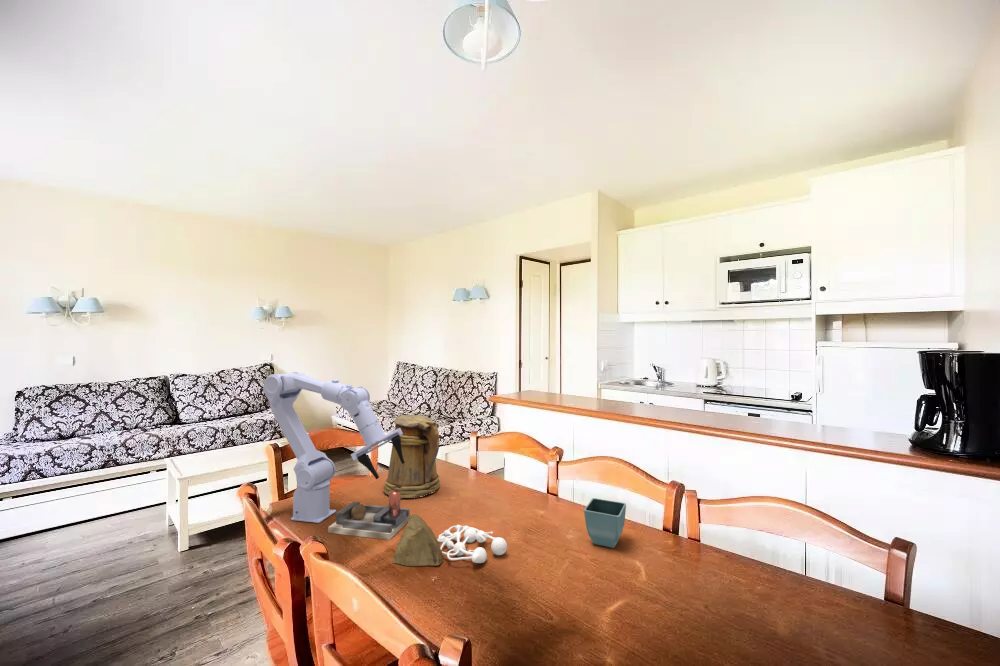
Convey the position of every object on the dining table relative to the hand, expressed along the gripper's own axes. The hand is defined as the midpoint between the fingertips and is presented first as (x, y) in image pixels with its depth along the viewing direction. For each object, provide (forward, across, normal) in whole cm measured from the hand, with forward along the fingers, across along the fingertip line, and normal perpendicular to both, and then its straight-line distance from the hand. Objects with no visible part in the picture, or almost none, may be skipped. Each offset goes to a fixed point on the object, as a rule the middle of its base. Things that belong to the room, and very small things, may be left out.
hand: (390, 470), depth 111 cm
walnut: (+5, -13, +6) cm, 15 cm away
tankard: (+10, +2, +29) cm, 31 cm away
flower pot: (+42, +39, -15) cm, 59 cm away
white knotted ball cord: (+26, +8, -12) cm, 30 cm away
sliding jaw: (+12, -6, +3) cm, 14 cm away
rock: (+22, -2, -15) cm, 26 cm away
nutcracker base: (+10, -11, +6) cm, 16 cm away
